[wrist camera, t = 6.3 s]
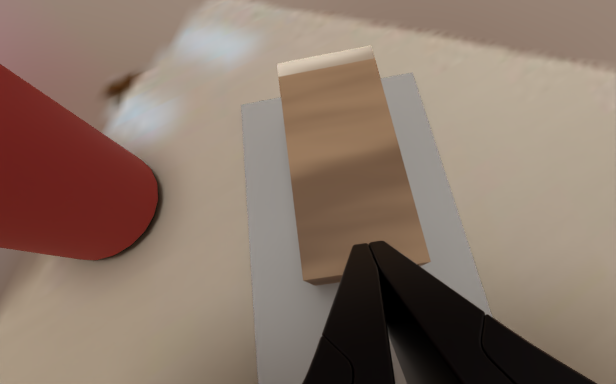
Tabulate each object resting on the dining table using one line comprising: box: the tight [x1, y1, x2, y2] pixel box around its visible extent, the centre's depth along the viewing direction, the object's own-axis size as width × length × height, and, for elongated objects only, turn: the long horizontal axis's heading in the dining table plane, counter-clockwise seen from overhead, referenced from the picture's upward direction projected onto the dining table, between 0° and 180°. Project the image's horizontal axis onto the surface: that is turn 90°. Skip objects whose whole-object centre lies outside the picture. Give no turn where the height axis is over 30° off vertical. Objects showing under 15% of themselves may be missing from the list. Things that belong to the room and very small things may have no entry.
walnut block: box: [277, 45, 431, 286], centre depth 14 cm, size 4×4×10 cm
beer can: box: [0, 64, 158, 260], centre depth 12 cm, size 7×7×12 cm
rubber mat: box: [241, 73, 492, 384], centre depth 16 cm, size 17×11×1 cm, turn 7°
